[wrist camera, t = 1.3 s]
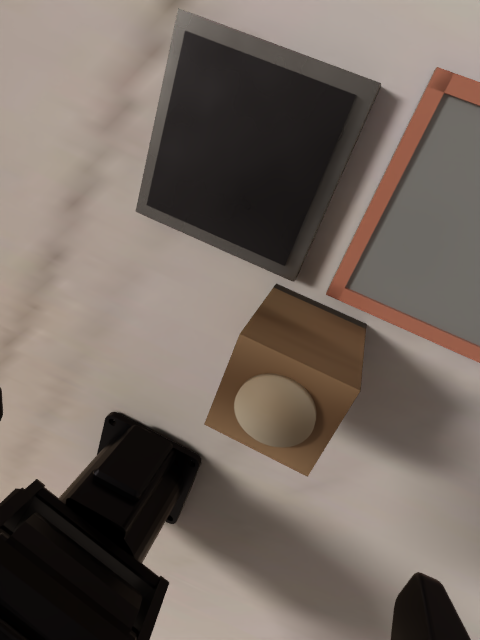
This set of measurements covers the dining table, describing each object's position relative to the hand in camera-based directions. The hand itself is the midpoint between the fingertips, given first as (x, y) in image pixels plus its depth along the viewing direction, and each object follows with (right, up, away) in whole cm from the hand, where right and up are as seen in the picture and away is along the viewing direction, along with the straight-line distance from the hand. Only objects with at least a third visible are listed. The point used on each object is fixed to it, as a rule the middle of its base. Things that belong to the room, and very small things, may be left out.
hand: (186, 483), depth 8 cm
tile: (+10, +6, +8) cm, 15 cm away
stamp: (+4, +2, +12) cm, 13 cm away
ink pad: (+1, +10, +9) cm, 14 cm away
